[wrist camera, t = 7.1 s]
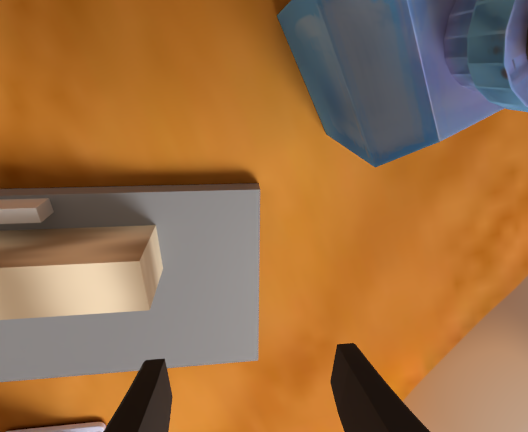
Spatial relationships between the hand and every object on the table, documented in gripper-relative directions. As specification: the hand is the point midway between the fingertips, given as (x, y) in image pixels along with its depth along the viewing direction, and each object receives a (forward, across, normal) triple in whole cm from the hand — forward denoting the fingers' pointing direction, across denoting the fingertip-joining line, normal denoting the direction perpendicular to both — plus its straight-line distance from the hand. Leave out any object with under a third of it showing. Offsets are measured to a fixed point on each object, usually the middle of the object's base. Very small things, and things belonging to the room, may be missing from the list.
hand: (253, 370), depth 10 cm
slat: (+8, +11, 0) cm, 14 cm away
